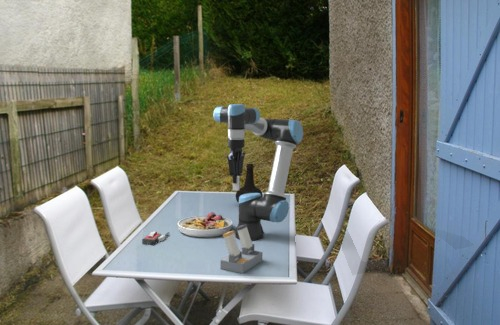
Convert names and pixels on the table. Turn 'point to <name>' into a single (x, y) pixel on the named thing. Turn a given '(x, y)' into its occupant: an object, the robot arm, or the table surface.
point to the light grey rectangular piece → (244, 237)
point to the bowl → (205, 225)
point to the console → (242, 260)
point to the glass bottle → (248, 184)
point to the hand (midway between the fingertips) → (235, 189)
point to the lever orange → (231, 244)
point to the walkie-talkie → (153, 238)
